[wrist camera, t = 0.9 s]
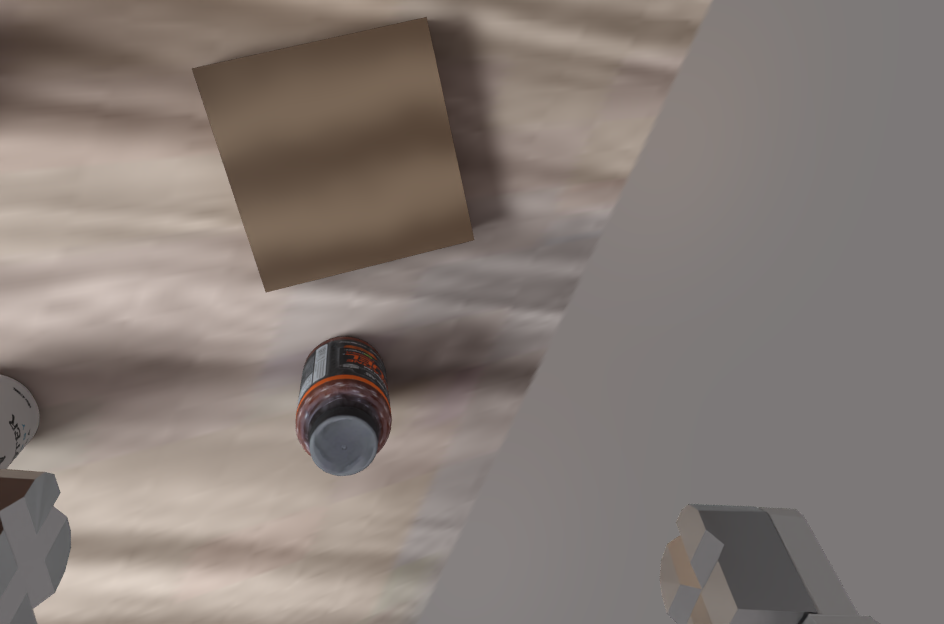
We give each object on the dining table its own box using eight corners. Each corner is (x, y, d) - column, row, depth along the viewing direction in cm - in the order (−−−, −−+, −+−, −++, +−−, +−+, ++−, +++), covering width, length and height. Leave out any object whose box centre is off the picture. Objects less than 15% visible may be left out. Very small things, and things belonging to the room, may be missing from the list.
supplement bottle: (400, 358, 52) (416, 430, 42) (357, 421, 53) (362, 508, 43) (329, 318, 50) (327, 383, 40) (286, 385, 51) (272, 466, 41)
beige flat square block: (466, 230, 50) (474, 240, 47) (270, 279, 49) (265, 292, 46) (421, 20, 45) (426, 17, 42) (201, 68, 44) (191, 68, 41)
